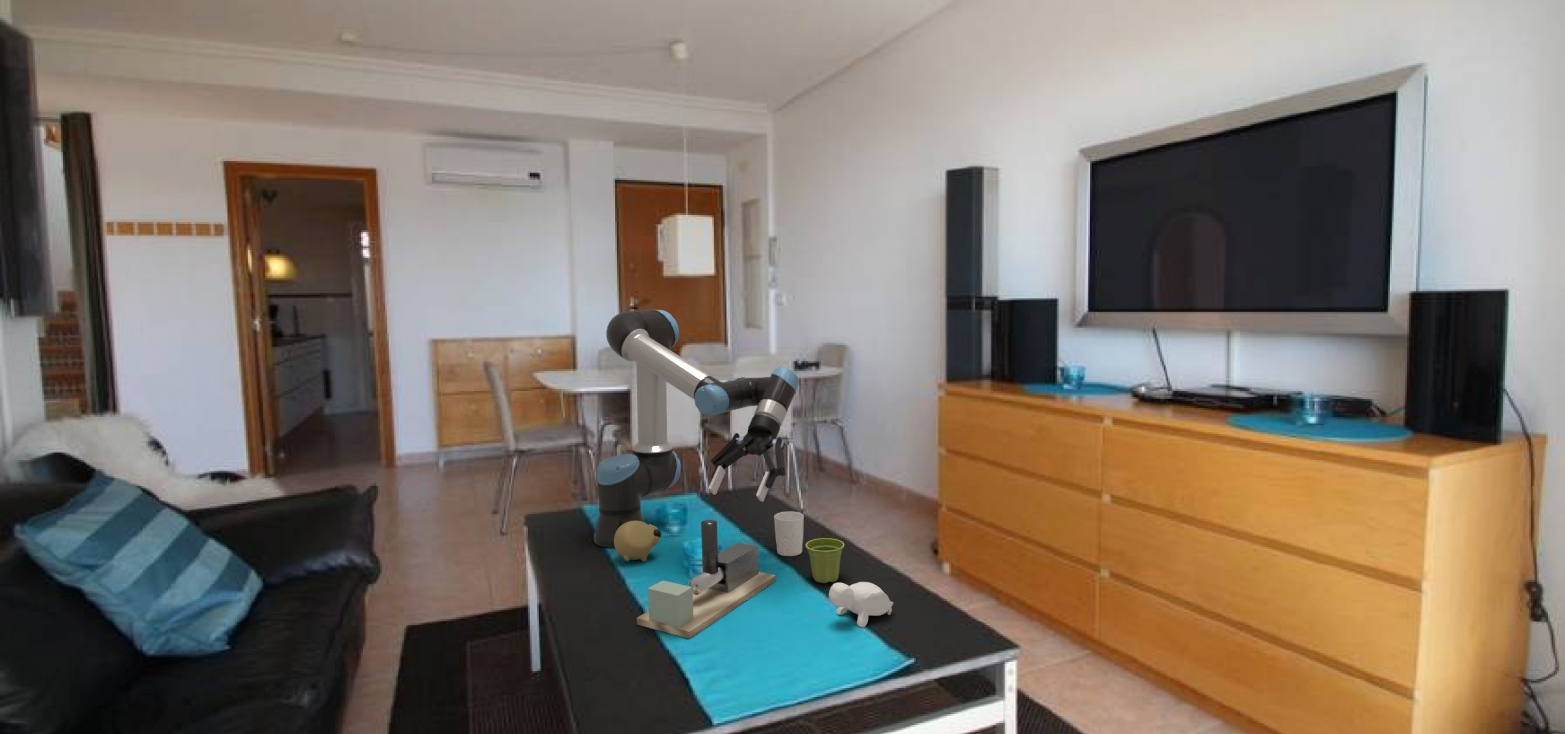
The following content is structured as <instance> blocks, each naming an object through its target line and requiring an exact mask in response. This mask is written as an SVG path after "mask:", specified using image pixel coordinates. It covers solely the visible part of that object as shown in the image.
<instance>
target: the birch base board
mask: <svg viewBox="0 0 1565 734" xmlns="http://www.w3.org/2000/svg"><path fill="white" fill-rule="evenodd" d="M775 582H776V575H775V574H771V573H766V572H763V571H762V572H761V571H759V574H757V575H756V576H754V577H753V578H751V579H749V580H748V581H746V582H745V583H743V584H742V585H740V586H738V587H737V588H735V589H734V590H732V591H730V592H729V593H727V592H723V591H718V590H714V589H710V588H708V589H707V590H705V591H703V592H702V593H700V594H698V595H694V594H693V618H694V619H692V620H690V621H689V622H687V623H686V624H684V625H683V626H681V627H679V628H678V627H674V626H671V625H667V624H663V623H659V622H656V621H652V620H649V610H647V611H646V612H644V613H642V614H641V615H639V616H638V617H636V625H637V626H641V627H645V628H649V629H651V630H657V631H659V632H660V631H661V632H663V633H666V632H667V634H671V635H674V636H677V635H678V637H682V638H684V639H685V638H686V639H687V640H688V639H689V640H690V639H691V638H693V637H694V636H696V635H697V634H699V633H701V632H702V631H703V630H705V629H706V628H708V627H709V626H711V625H712V624H714V623H715V622H717V621H718V620H720V619H721V618H723V617H724V616H726V615H728V614H729V613H730V612H732V611H733V610H735V609H736V608H738V607H739V606H741V605H742V604H743V602H744V603H745V602H747V601H748V600H750V599H751V598H752V597H754V596H756V595H757V594H759V593H760V592H762V591H763V590H765V589H766V588H767V586H768V587H769V586H770V585H772V584H773V583H775ZM771 583H772V584H771ZM764 588H765V589H764ZM761 590H762V591H761ZM749 598H750V599H749ZM746 600H747V601H746Z"/></svg>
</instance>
